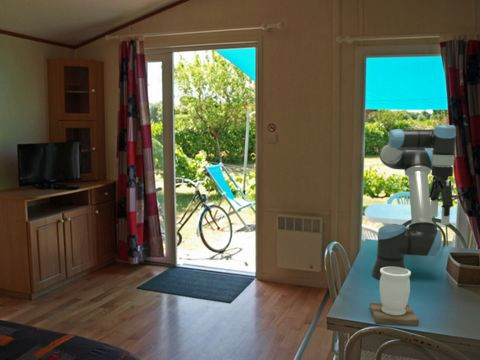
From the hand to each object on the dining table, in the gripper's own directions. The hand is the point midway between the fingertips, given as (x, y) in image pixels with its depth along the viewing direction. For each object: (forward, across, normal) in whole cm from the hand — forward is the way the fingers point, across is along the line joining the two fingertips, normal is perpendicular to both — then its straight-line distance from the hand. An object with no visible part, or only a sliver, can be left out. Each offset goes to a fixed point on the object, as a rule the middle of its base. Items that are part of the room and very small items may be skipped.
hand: (439, 220), depth 181 cm
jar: (+29, -20, +20) cm, 41 cm away
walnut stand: (+31, -20, +20) cm, 42 cm away
